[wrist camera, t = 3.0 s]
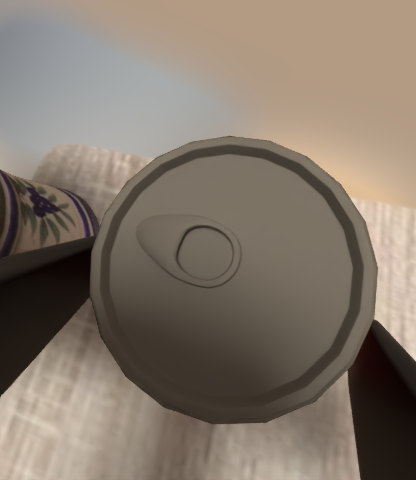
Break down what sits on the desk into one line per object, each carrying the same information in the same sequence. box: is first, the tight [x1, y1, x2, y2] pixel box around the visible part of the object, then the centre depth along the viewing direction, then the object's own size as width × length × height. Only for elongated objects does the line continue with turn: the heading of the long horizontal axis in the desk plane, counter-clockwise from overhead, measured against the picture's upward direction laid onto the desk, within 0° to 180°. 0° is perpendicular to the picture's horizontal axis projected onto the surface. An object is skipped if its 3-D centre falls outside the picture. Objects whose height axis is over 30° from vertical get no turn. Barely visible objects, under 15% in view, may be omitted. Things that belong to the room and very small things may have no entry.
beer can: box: [89, 136, 378, 424], centre depth 10 cm, size 7×7×12 cm
